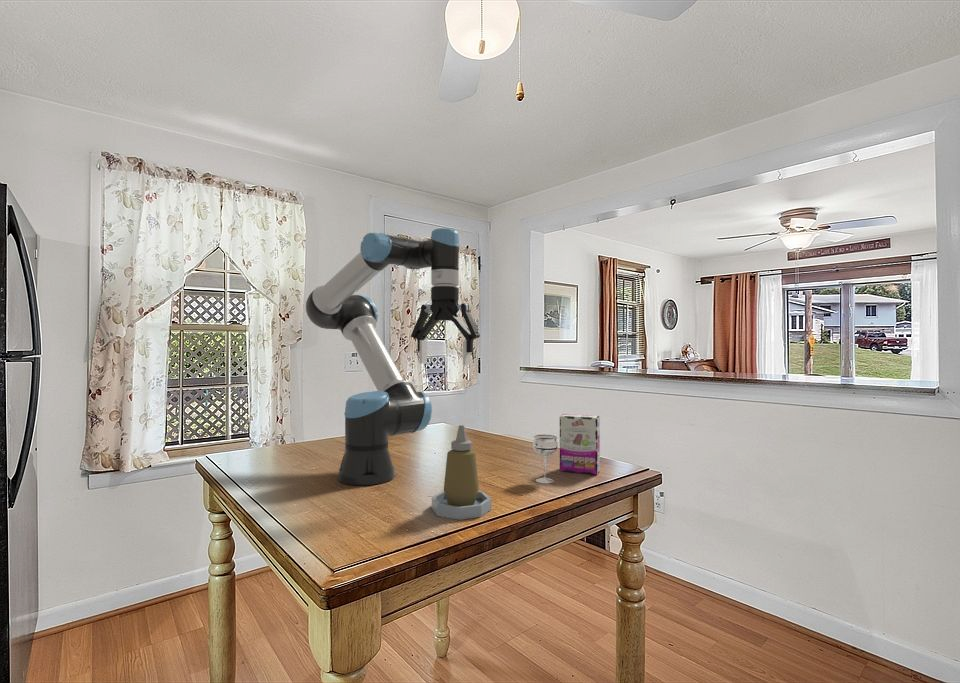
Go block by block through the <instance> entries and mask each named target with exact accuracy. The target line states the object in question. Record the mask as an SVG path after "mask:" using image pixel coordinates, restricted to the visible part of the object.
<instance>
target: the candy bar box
mask: <svg viewBox="0 0 960 683" xmlns="http://www.w3.org/2000/svg"><path fill="white" fill-rule="evenodd" d="M600 420H601V419H600V415H592V414H591V415H588V414H567V413H563V414H561V415H560V416H559V472H566V473H575V474H587V475H598V474H599V472H600V471H601V460H600V459H601V455H600V454H601V450H600V448H601V446H600V445H601V440H600V439H601V438H600V437H601V432H600V431H601V428H600V426H601V422H600Z"/></svg>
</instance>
